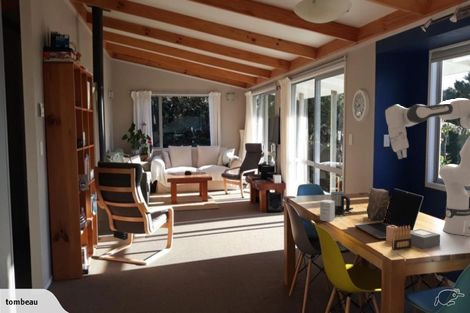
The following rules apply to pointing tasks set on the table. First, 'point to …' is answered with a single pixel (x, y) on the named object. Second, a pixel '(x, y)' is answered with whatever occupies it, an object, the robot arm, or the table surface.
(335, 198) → the milk frother
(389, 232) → the block
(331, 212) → the supplement box
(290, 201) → the table surface
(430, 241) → the base block
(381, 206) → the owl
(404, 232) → the ammunition clip
